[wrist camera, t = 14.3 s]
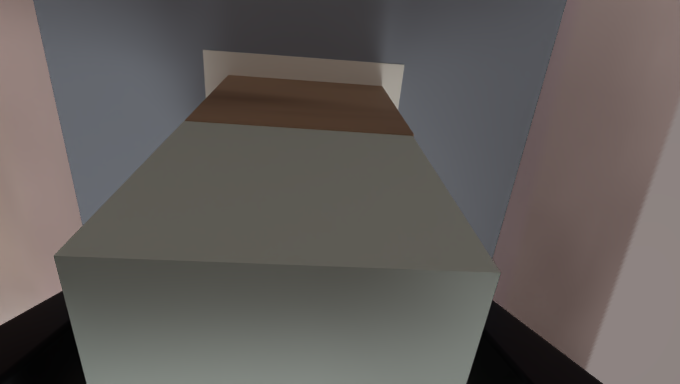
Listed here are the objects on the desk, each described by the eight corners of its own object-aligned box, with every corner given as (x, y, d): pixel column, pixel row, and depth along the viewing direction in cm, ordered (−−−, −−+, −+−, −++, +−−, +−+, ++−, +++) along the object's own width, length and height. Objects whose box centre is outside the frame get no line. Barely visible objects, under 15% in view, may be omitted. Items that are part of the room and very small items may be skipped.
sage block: (383, 308, 12) (426, 512, 7) (198, 302, 11) (121, 515, 7) (413, 135, 9) (501, 272, 5) (184, 121, 9) (54, 256, 5)
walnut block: (365, 217, 16) (385, 307, 12) (232, 211, 16) (199, 302, 11) (382, 85, 14) (414, 134, 9) (228, 74, 13) (184, 120, 9)
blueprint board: (472, 286, 19) (479, 302, 18) (107, 275, 18) (96, 291, 17) (560, -36, 14) (578, -37, 13) (35, -87, 12) (12, -92, 11)
